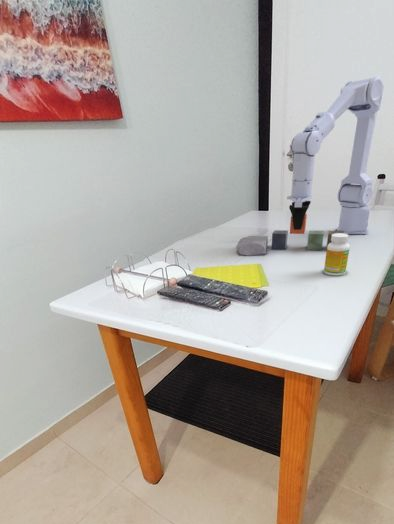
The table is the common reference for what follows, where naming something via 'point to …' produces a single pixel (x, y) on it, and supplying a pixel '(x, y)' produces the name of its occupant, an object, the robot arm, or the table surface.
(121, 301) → the table surface
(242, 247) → the stone block
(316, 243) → the block row
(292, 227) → the terracotta block
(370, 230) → the table surface
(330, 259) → the supplement bottle
